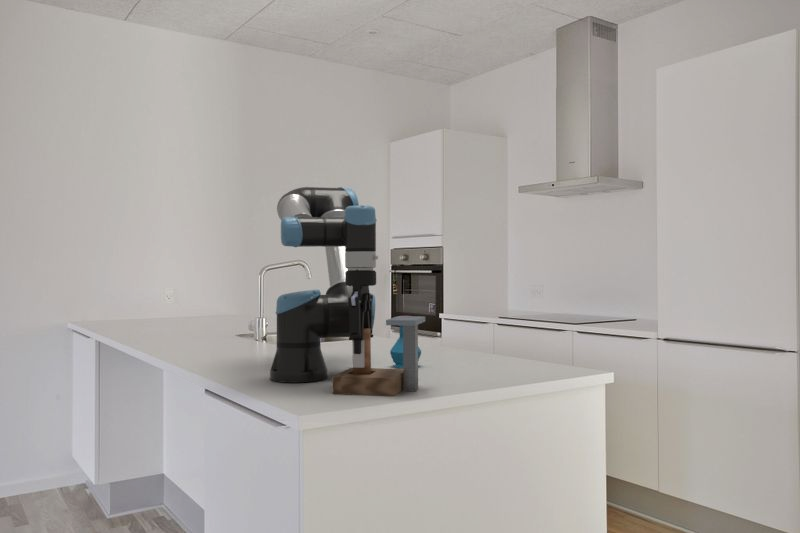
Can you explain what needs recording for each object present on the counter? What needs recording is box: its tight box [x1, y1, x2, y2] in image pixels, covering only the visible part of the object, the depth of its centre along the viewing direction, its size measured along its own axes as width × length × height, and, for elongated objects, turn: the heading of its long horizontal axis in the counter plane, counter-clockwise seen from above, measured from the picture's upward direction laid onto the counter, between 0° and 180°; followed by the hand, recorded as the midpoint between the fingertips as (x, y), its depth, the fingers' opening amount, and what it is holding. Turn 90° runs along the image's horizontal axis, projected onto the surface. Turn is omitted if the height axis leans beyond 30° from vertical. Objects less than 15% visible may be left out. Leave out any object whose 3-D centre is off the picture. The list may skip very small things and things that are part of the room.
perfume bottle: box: [389, 325, 422, 369], centre depth 198 cm, size 9×9×15 cm
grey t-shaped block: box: [385, 315, 426, 392], centre depth 161 cm, size 7×12×17 cm, turn 167°
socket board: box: [332, 367, 403, 397], centre depth 162 cm, size 15×14×4 cm
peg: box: [351, 328, 372, 375], centre depth 162 cm, size 4×4×14 cm
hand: (361, 365), depth 162 cm, fingers closed on peg, 4 cm apart
